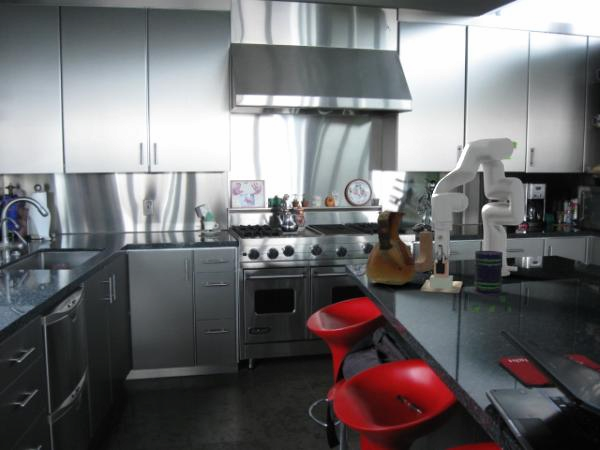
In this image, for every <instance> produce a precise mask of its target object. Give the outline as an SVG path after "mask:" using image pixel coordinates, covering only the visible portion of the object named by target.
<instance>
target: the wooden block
mask: <svg viewBox="0 0 600 450" xmlns="http://www.w3.org/2000/svg"><path fill="white" fill-rule="evenodd" d="M433 232H434V231H429V230H428V231H426V230H425V231H420V232H419V254H418V258H417V260H414V262H415V273H420V272H422V273H427V272H430V271H431V270H432V271H434V261H433V259H434V258H433V257H434V255H433V249H434V247H433V246H434V243H433V242H434V239H433V237H434V233H433ZM426 271H427V272H426Z"/></svg>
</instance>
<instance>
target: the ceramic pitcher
mask: <svg viewBox="0 0 600 450" xmlns="http://www.w3.org/2000/svg"><path fill="white" fill-rule="evenodd" d="M377 214H378V216H377V219H376V220H377V221H376V228H377V235H378V242H377V243H376V244H375V245H374V247H373V248H372V249H371V251H370V253H369V255H368V258H367V261H366V265H365V275H366V278H367V279H368V280H371V281H372V282H376V283H379V284H385V285H395V286H403V285H405V284H407V283H409V282H412V281H413V280H414V279H415V276H416V272H415V258H414V256H413V253H412V251H411V250H410V248H409V246H408V245H407V244H406V243H405V242H404V241H402V239H401V237H400V235H399V227H400V220H401V218H402V217H403V216H404V215H405V214H406V212H401V211H392V210H391V211H390V210H384V211H381V210H380V211H378V213H377Z"/></svg>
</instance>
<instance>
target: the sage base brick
mask: <svg viewBox="0 0 600 450" xmlns="http://www.w3.org/2000/svg"><path fill="white" fill-rule="evenodd" d="M429 280H430V288H443V289H452V286H453V281H454V276H453V275H449V276H448V278H437V277H434V274H431V275H430V276H429Z"/></svg>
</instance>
